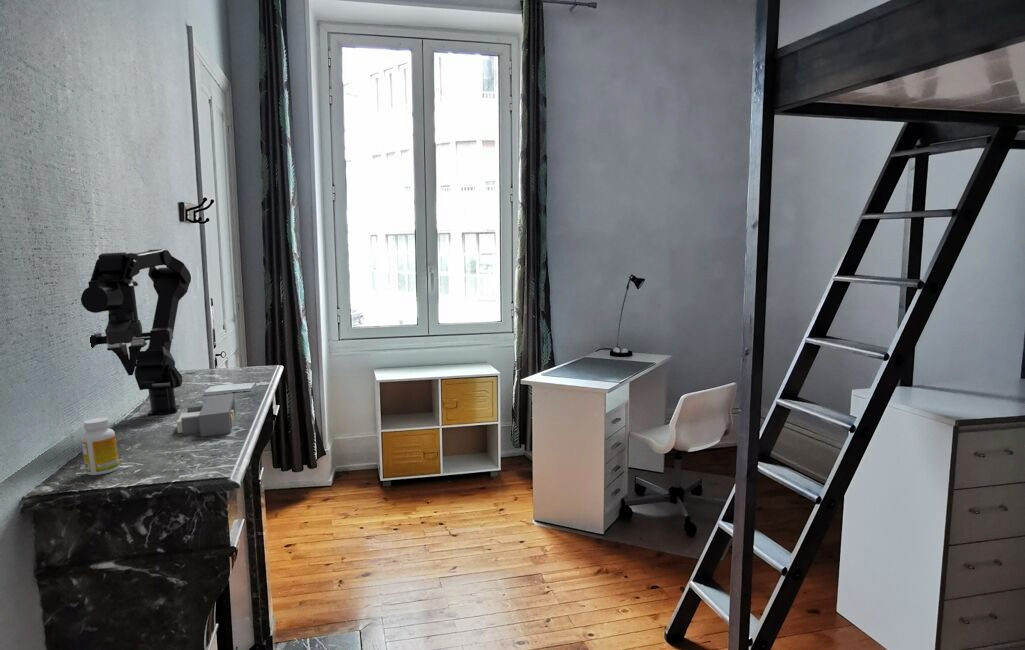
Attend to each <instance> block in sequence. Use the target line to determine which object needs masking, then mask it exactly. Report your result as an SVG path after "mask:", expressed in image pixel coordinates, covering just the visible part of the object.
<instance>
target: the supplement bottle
mask: <svg viewBox="0 0 1025 650" xmlns="http://www.w3.org/2000/svg"><path fill="white" fill-rule="evenodd" d="M109 426H110V420H109V418H108V417H97V418H91V419H88V420H85V421H84V422H83V428H84V431H85V432H84V433H83V434H82V435H81V437H80V438H81V446H82V455H83V461H84V469H85V473H86V474H87V475H89V476H98V475H99V476H100V475H106V474H109V473H110V474H111V473H112V472H115V471H116V470H118V469H119V467H120V461H119V455H118V448H117V447H118V446H117V439H116V433H115V430H113V429H112V428H109Z"/></svg>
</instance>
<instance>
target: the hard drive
mask: <svg viewBox="0 0 1025 650" xmlns="http://www.w3.org/2000/svg"><path fill="white" fill-rule="evenodd" d="M255 386H256V387H257V382H245V383H234V384H233V383H232V384H222V385H210V386H209V387H208V388H207V389H205V390H204V393H203V395H204V396H206V397H207V396H216V394H217V395H224V394H223V393H228V394H232V393H231V392H240V391H251V392H253V390H254V389H255V388H256V387H255ZM254 387H255V388H254ZM240 393H241V392H240Z"/></svg>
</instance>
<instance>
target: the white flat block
mask: <svg viewBox="0 0 1025 650" xmlns="http://www.w3.org/2000/svg"><path fill="white" fill-rule="evenodd" d="M199 414H200V411H199V412H191V413H188V412H183V413H181V414H180V415H179V417H178V419H177V420H176V429H177V434H180V433H182V434H183V431H182V422H181V418H182V417H190V416H198V415H199Z"/></svg>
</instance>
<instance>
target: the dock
mask: <svg viewBox="0 0 1025 650" xmlns="http://www.w3.org/2000/svg"><path fill="white" fill-rule="evenodd" d="M186 410H187V412H186V413H191V412H199V411H200V414H199V415H198V416H190V417H182V418H181V422H182V431H183V432H182V435H188V434H196V432H197V433H200V437H207V435H209V436H215V434H217V435H222V434H230V433H232V428H233V426H232V425H234V420H235V417H234V416H236V415H235V414H236V413H235V412H237V411H236V402H235V393H228V394H217V395H206V398H205V401H204V402H203V404H200V405H199V404H198V405H191V406H187V408H186Z"/></svg>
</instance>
